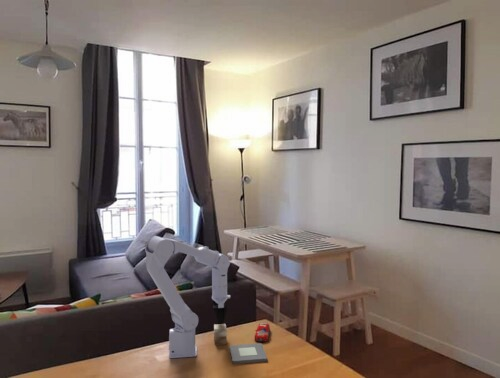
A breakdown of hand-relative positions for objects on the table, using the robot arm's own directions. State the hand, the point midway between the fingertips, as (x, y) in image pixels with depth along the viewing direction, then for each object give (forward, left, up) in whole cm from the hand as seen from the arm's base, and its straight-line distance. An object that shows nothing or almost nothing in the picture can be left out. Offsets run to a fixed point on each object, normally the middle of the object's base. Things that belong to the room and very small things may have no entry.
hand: (220, 320), depth 148 cm
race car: (+17, +3, -9) cm, 19 cm away
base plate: (+9, -12, -8) cm, 17 cm away
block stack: (0, 0, -8) cm, 8 cm away
